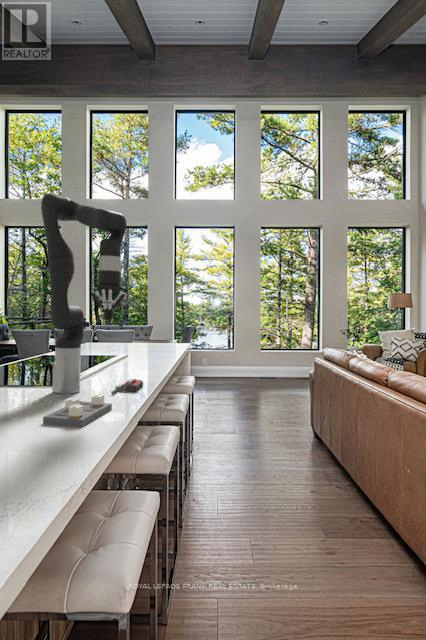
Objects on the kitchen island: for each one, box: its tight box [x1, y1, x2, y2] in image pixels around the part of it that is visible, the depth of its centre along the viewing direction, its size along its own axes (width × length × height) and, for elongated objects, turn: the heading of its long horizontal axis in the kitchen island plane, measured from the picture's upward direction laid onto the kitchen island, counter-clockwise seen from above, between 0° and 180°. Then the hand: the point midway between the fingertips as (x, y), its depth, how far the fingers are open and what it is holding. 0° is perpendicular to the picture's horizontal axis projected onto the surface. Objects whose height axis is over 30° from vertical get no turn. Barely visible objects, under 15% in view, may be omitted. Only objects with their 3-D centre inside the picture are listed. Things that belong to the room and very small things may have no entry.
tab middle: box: [64, 396, 80, 409], centre depth 129 cm, size 3×3×3 cm
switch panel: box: [42, 400, 113, 428], centre depth 129 cm, size 12×20×2 cm, turn 170°
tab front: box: [69, 404, 84, 416], centre depth 121 cm, size 3×3×3 cm
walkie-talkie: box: [110, 378, 144, 395], centre depth 167 cm, size 9×4×20 cm
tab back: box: [90, 393, 105, 405], centre depth 135 cm, size 3×3×3 cm
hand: (108, 320), depth 145 cm, fingers closed
